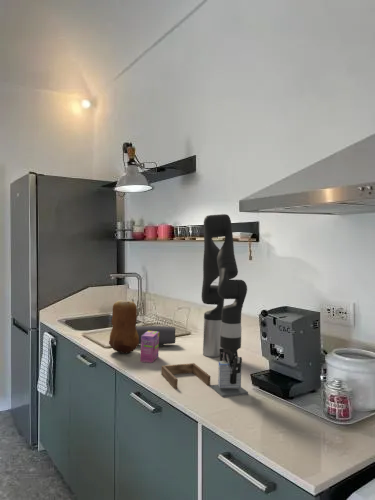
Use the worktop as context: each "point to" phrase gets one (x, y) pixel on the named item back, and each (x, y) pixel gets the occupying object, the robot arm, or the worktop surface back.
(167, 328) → the bluetooth speaker
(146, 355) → the box
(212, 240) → the robot arm
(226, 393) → the coaster
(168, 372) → the u-shaped wooden frame
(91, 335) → the worktop surface
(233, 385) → the medicine box
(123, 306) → the butternut squash
